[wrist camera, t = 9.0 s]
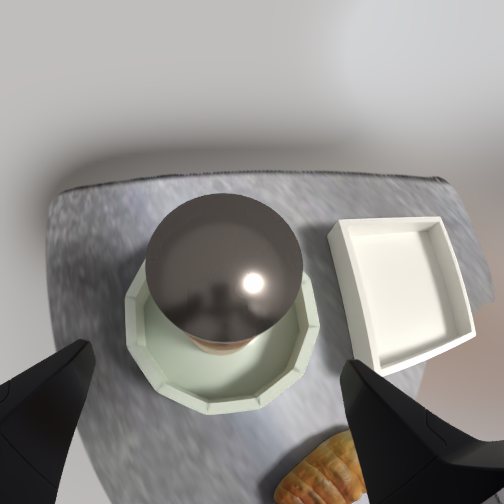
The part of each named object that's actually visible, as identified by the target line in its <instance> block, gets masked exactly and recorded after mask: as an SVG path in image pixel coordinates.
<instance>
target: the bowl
mask: <svg viewBox="0 0 504 504" xmlns="http://www.w3.org/2000/svg"><path fill="white" fill-rule="evenodd" d="M145 259H146V258H145ZM125 296H126V297H125V325H126V344H127V348H128V350H129V352H130V353H131V355H132V357H133V358H134V360H135V361H136V363H137V364H138V366H139V367H140V369H141V370H142V372H143V373H144V375H145V376H146V378H147V379H148V381H149V382H150V384H151V385H152V386H153V388H154V389H155V391H157V392H158V393H160V394H162V395H164V396H166V397H168V398H170V399H172V400H174V401H176V402H178V403H180V404H182V405H185V406H187V407H189V408H191V409H193V410H196V411H198V412H200V413H203V414H205V415H206V414H207V415H214V414H224V413H233V412H241V411H249V410H256V409H261V407H262V408H263V407H264V406H266V405H267V404H268V403H270V402H271V401H272V400H274V399H275V398H276V397H277V396H279V395H280V394H281V393H282V392H284V391H285V390H286V389H287V388H289V387H290V386H291V385H292V384H293V383H295V382H296V381H297V380H298V379H299V378H301V377H302V376H303V375H302V374H304V372H305V369H306V367H307V364H308V361H309V358H310V356H311V353H312V350H313V347H314V344H315V341H316V338H317V335H318V332H319V329H320V328H319V327H320V323H319V318H318V313H317V308H316V303H315V298H314V293H313V288H312V284H311V280H310V278H309V277H308V276H307V274H306V273H305V272H304V271H303V275H302V282H301V286H300V290H299V292H298V295H297V297H296V299H295V301H294V303H293V305H292V306H291V308H290V309H289V310H288V312H287V313H286V314H285V315H284V316H283V317H282V318H281V319H280V320H279V321H278V322H277V323H276V324H275V325H274V326H272V327H271V328H270V329H268V330H267V331H266V332H264V333H262V334H260V335H258V336H257V337H256V338H254V339H253V340H252V341H251V342H250V343H249V344H247V345H246V346H245V347H244V348H243V349H241V350H240V351H238V352H236V353H234V354H231V355H225V356H217V355H212V354H209V353H207V352H205V351H203V350H201V349H200V348H199V347H198V346H196V345H195V343H194V342H193V341H192V340H191V339H190V338H189V337H188V336H187V335H186V334H185V333H184V332H183V331H182V330H180V329H179V328H177V327H176V326H175V325H174V324H173V323H172V322H171V321H169V320H168V318H167V317H166V316H165V315H164V314H163V313H162V312H161V310H160V309H159V308H158V306H157V305H156V303H155V301H154V300H153V298H152V295H151V293H150V291H149V288H148V284H147V280H146V273H145V260H144V262H143V264H142V266H141V267H140V269H139V271H138V273H137V275H136V276H135V278H134V280H133V282H132V284H131V286H130V288H129V289H128V291H127V293H126V295H125Z"/></svg>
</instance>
